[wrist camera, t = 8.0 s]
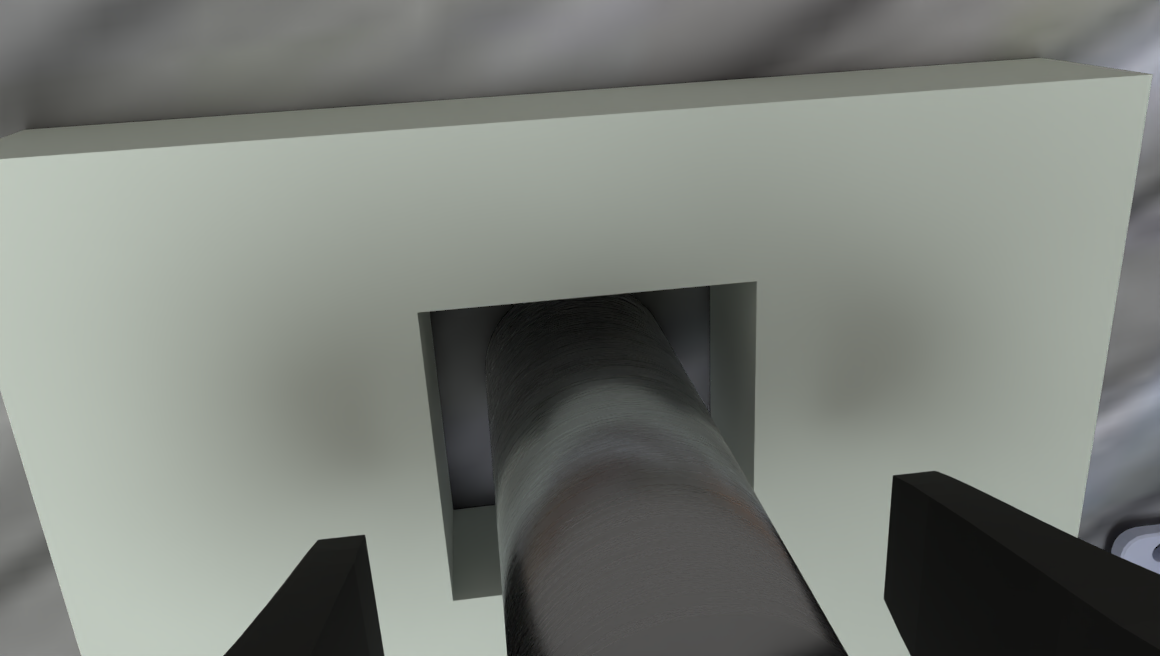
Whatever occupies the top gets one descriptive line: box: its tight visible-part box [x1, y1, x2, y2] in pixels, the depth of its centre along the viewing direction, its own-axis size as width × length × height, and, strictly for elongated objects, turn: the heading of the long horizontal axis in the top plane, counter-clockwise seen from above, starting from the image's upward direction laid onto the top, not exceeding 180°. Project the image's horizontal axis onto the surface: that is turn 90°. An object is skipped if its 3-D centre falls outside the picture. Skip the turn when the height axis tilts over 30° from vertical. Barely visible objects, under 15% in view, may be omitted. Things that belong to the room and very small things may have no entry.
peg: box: [485, 293, 848, 656], centre depth 14 cm, size 4×4×10 cm
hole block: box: [0, 58, 1153, 656], centre depth 17 cm, size 18×11×3 cm, turn 93°
